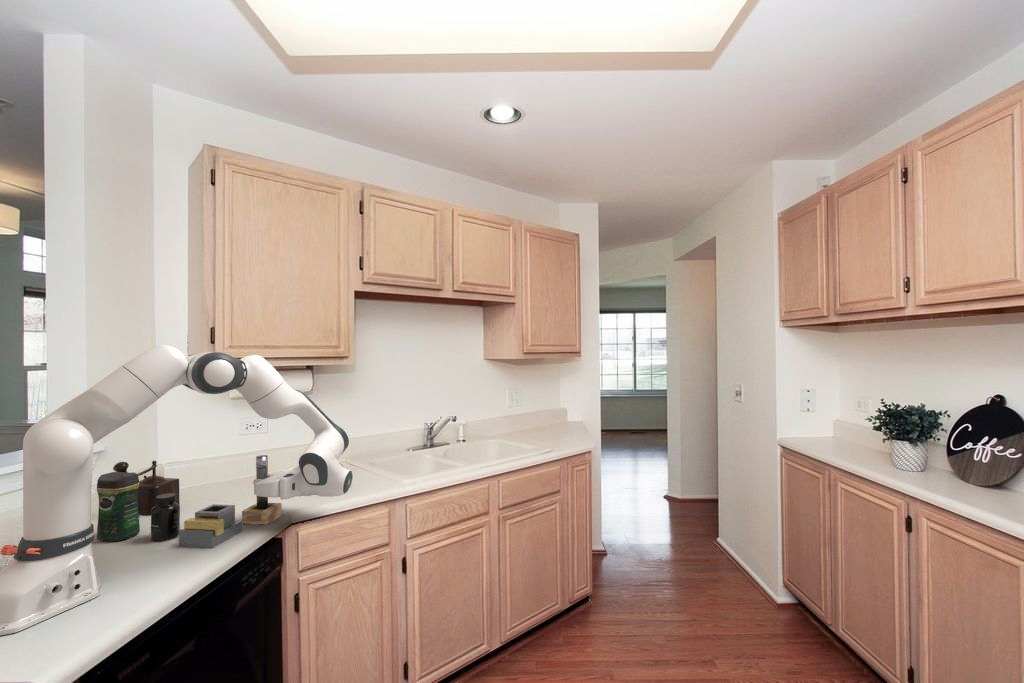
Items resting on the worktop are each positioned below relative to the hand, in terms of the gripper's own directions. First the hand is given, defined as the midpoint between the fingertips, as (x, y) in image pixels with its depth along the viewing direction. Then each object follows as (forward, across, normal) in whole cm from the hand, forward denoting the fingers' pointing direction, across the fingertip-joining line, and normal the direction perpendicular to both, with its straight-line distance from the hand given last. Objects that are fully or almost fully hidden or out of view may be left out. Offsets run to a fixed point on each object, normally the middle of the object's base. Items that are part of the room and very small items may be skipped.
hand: (259, 479), depth 154 cm
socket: (+4, +16, +12) cm, 20 cm away
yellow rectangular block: (+3, +20, +9) cm, 22 cm away
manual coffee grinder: (+42, -2, +13) cm, 44 cm away
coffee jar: (+32, +17, +13) cm, 38 cm away
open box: (-1, 0, +12) cm, 13 cm away
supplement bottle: (+18, +16, +13) cm, 27 cm away
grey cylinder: (-1, 0, +10) cm, 11 cm away
